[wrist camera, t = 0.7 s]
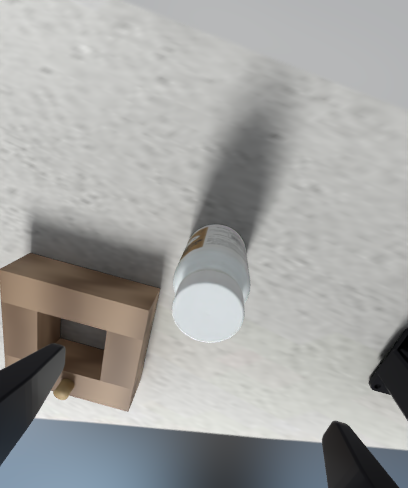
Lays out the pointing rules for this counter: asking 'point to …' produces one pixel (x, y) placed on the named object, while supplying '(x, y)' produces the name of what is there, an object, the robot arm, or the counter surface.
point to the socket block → (81, 311)
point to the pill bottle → (211, 285)
